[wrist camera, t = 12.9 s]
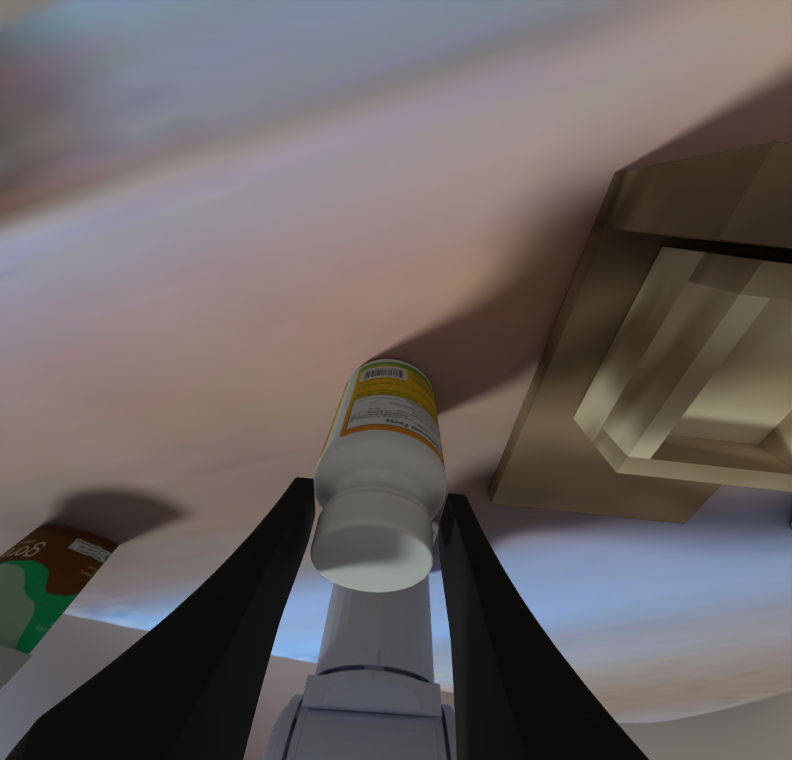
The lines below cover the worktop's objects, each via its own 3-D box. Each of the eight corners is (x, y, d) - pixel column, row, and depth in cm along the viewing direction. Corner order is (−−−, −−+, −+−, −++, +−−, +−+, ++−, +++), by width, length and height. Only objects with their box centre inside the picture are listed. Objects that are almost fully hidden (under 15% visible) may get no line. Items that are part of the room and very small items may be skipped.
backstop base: (672, 511, 22) (755, 605, 17) (488, 491, 22) (513, 580, 16) (944, 215, 12) (1343, 218, 7) (614, 172, 12) (776, 141, 7)
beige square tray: (726, 435, 17) (808, 493, 13) (573, 418, 17) (616, 472, 13) (870, 272, 12) (1050, 296, 9) (662, 246, 12) (763, 260, 9)
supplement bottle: (389, 443, 20) (375, 618, 11) (327, 394, 18) (254, 558, 9) (452, 397, 18) (492, 568, 9) (389, 337, 16) (366, 480, 7)
